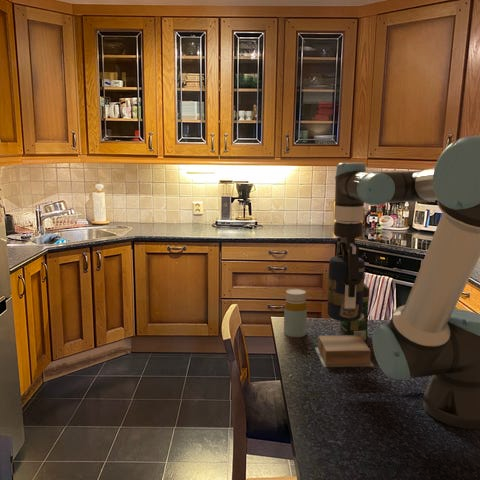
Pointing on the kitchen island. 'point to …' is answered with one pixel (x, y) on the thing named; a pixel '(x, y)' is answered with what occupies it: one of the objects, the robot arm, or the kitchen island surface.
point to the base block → (344, 350)
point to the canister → (343, 290)
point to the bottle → (295, 313)
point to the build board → (339, 365)
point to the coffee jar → (361, 324)
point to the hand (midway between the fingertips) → (345, 301)
